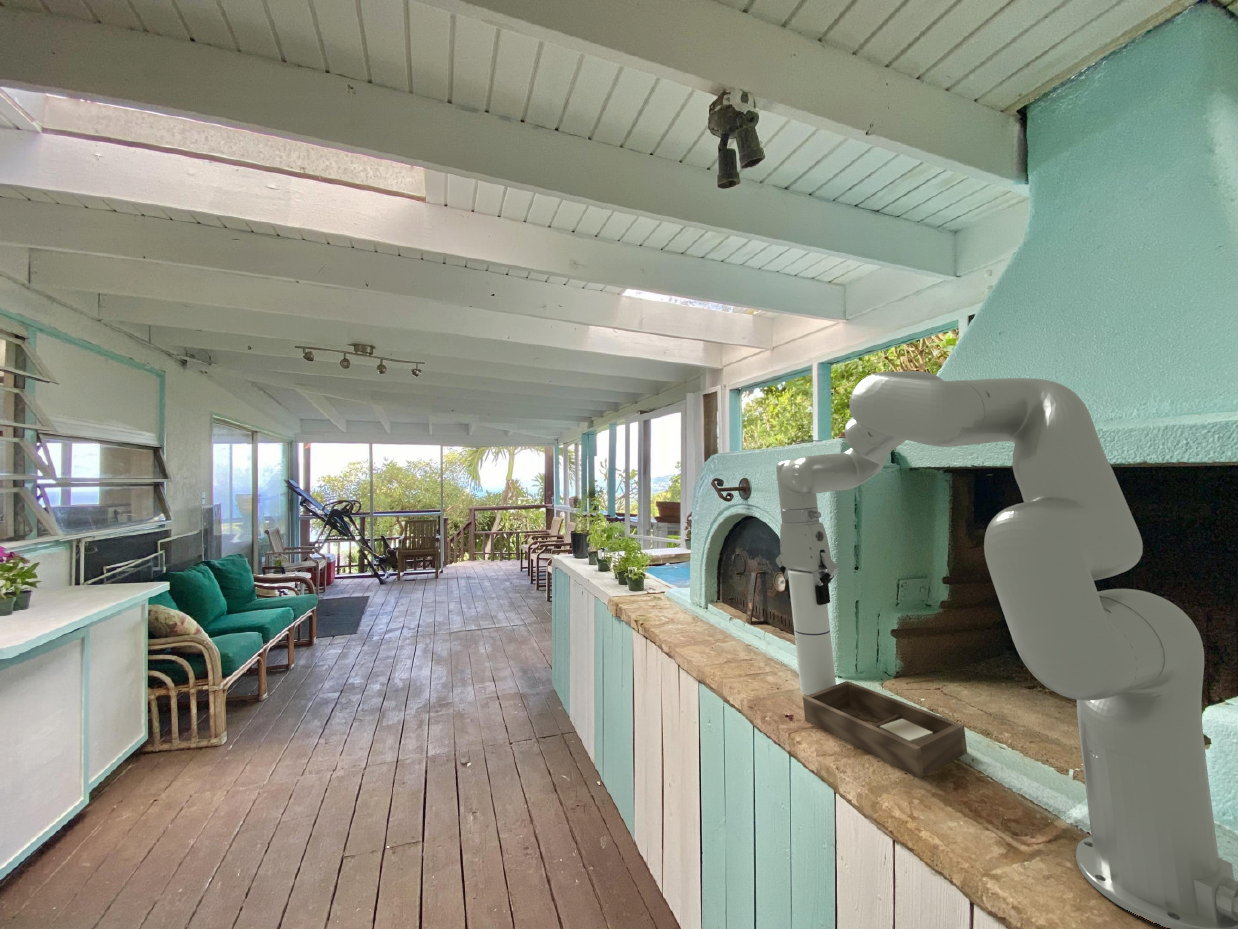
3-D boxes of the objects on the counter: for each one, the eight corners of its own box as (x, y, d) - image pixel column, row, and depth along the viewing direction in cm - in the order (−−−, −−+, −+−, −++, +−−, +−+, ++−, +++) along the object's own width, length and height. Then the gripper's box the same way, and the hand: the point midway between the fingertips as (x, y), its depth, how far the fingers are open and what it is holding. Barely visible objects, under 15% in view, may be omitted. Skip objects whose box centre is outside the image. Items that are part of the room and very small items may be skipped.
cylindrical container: (814, 700, 100) (801, 575, 101) (793, 687, 107) (781, 570, 108) (844, 693, 102) (831, 570, 103) (821, 680, 109) (809, 566, 110)
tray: (967, 757, 79) (964, 725, 79) (919, 783, 73) (916, 749, 74) (849, 706, 98) (847, 680, 99) (805, 724, 93) (802, 697, 93)
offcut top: (934, 742, 80) (932, 732, 80) (910, 751, 78) (909, 740, 78) (903, 728, 85) (902, 718, 85) (880, 736, 83) (879, 726, 83)
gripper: (846, 515, 99) (856, 604, 99) (783, 514, 115) (791, 591, 114) (819, 519, 96) (829, 612, 95) (758, 517, 112) (766, 597, 111)
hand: (808, 600), depth 105 cm, fingers closed on cylindrical container, 7 cm apart
